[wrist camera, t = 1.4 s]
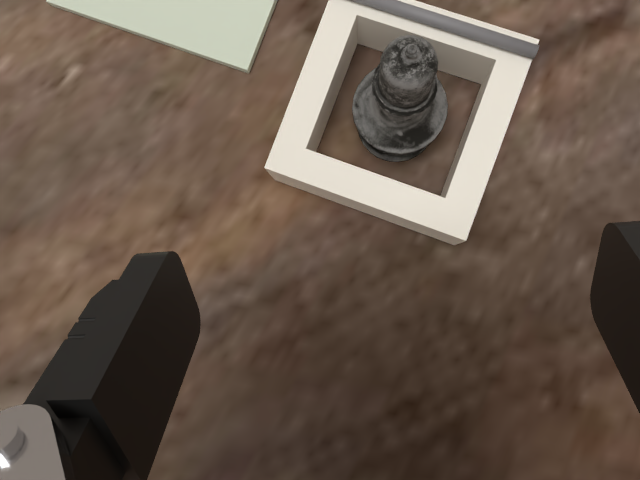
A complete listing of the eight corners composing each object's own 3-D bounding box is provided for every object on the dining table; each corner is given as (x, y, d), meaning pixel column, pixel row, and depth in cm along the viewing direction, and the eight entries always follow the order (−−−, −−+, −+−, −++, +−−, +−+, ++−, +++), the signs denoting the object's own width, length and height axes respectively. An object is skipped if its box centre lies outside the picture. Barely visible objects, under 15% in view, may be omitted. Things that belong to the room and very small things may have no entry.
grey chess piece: (378, 68, 36) (386, -35, 24) (454, 106, 36) (500, 19, 24) (338, 141, 36) (326, 73, 24) (413, 181, 36) (439, 131, 24)
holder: (275, 180, 36) (261, 165, 32) (340, 8, 37) (337, -32, 32) (454, 245, 35) (468, 240, 30) (519, 66, 36) (543, 33, 31)
